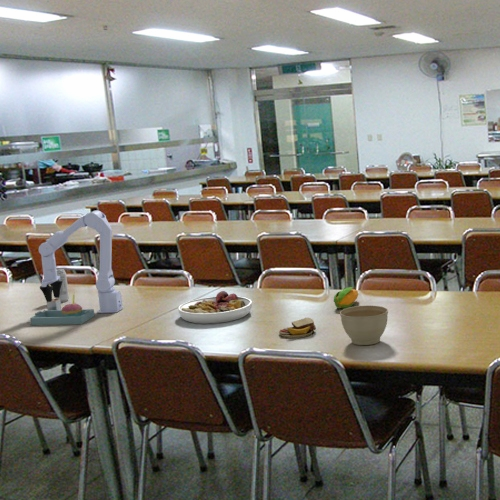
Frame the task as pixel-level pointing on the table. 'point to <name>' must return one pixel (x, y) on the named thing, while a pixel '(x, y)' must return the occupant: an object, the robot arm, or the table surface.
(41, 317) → the tray
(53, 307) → the tin
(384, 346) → the table surface
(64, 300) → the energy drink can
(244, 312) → the bowl
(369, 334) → the planter bowl
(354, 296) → the corn
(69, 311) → the donut with candle
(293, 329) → the toy sandwich meal
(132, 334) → the table surface
